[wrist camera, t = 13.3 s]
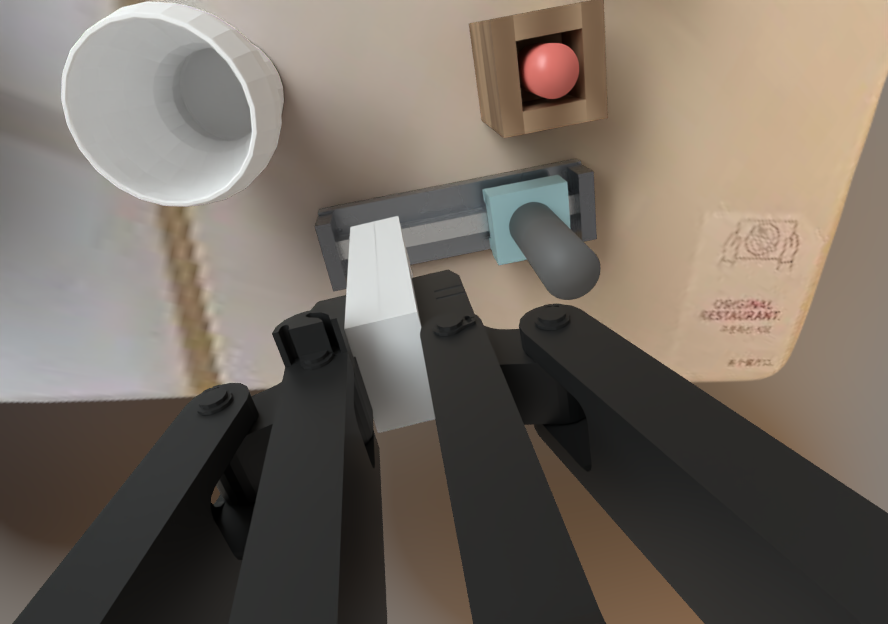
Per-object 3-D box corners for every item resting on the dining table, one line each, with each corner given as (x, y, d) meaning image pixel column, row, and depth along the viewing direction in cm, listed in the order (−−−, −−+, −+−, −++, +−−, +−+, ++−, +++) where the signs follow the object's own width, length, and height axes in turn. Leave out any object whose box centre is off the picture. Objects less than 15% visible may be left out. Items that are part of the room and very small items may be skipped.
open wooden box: (482, 129, 45) (505, 148, 37) (468, 23, 42) (490, 19, 34) (567, 112, 45) (608, 128, 37) (560, 6, 42) (603, -2, 34)
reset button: (515, 96, 39) (531, 103, 35) (510, 47, 38) (526, 48, 34) (560, 88, 39) (580, 93, 35) (556, 38, 38) (577, 38, 34)
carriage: (490, 250, 47) (528, 322, 35) (481, 186, 45) (519, 240, 33) (559, 237, 47) (620, 303, 35) (554, 172, 45) (618, 220, 33)
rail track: (337, 274, 49) (334, 293, 45) (319, 209, 46) (313, 224, 43) (580, 225, 50) (596, 241, 46) (576, 158, 47) (593, 168, 43)
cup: (203, 182, 45) (127, 244, 31) (126, 43, 40) (-2, 46, 26) (326, 135, 44) (303, 177, 31) (262, -12, 39) (202, -38, 26)
